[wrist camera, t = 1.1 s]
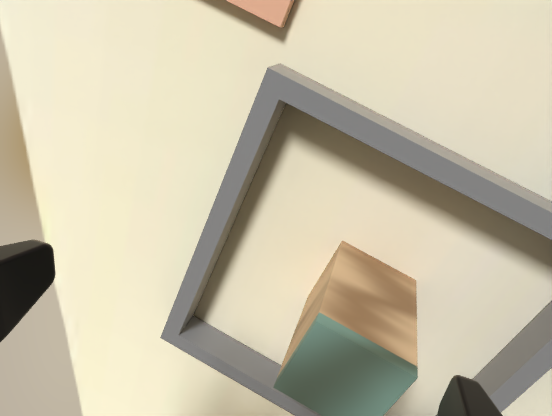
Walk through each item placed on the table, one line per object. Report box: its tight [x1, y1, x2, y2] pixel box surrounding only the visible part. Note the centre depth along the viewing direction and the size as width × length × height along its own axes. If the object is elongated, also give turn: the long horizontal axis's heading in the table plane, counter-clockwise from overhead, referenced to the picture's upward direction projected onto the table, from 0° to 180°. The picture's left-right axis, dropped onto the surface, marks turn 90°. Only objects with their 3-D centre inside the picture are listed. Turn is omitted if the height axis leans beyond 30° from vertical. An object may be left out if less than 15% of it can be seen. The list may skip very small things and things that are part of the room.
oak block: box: [273, 241, 418, 416], centre depth 20 cm, size 4×4×7 cm
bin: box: [160, 64, 552, 416], centre depth 23 cm, size 18×18×2 cm
